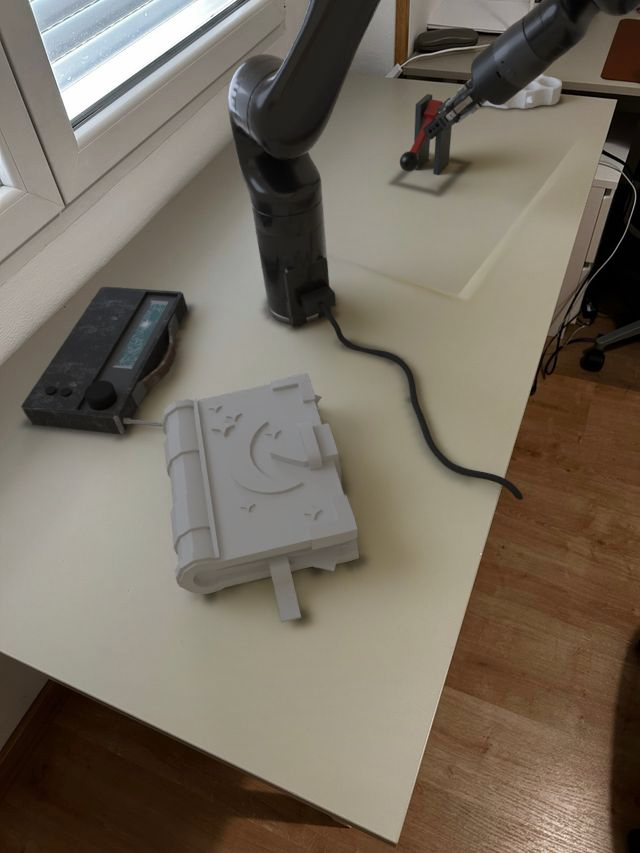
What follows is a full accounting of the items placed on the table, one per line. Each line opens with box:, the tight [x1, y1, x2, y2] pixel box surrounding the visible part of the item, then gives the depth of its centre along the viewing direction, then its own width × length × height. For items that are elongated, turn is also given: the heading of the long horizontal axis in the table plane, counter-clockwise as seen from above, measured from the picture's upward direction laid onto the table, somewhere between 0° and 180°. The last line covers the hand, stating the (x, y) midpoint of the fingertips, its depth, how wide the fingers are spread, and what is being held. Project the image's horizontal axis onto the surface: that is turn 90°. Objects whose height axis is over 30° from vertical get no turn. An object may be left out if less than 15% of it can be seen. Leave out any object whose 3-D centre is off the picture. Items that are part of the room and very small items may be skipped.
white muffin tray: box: [481, 72, 563, 110], centre depth 136 cm, size 3×18×15 cm
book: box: [161, 372, 360, 623], centre depth 69 cm, size 19×28×8 cm
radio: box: [20, 286, 189, 435], centre depth 88 cm, size 25×4×20 cm
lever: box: [399, 98, 444, 173], centre depth 110 cm, size 13×3×3 cm, turn 148°
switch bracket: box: [413, 93, 453, 176], centre depth 114 cm, size 12×9×13 cm
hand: (428, 133), depth 103 cm, fingers closed
